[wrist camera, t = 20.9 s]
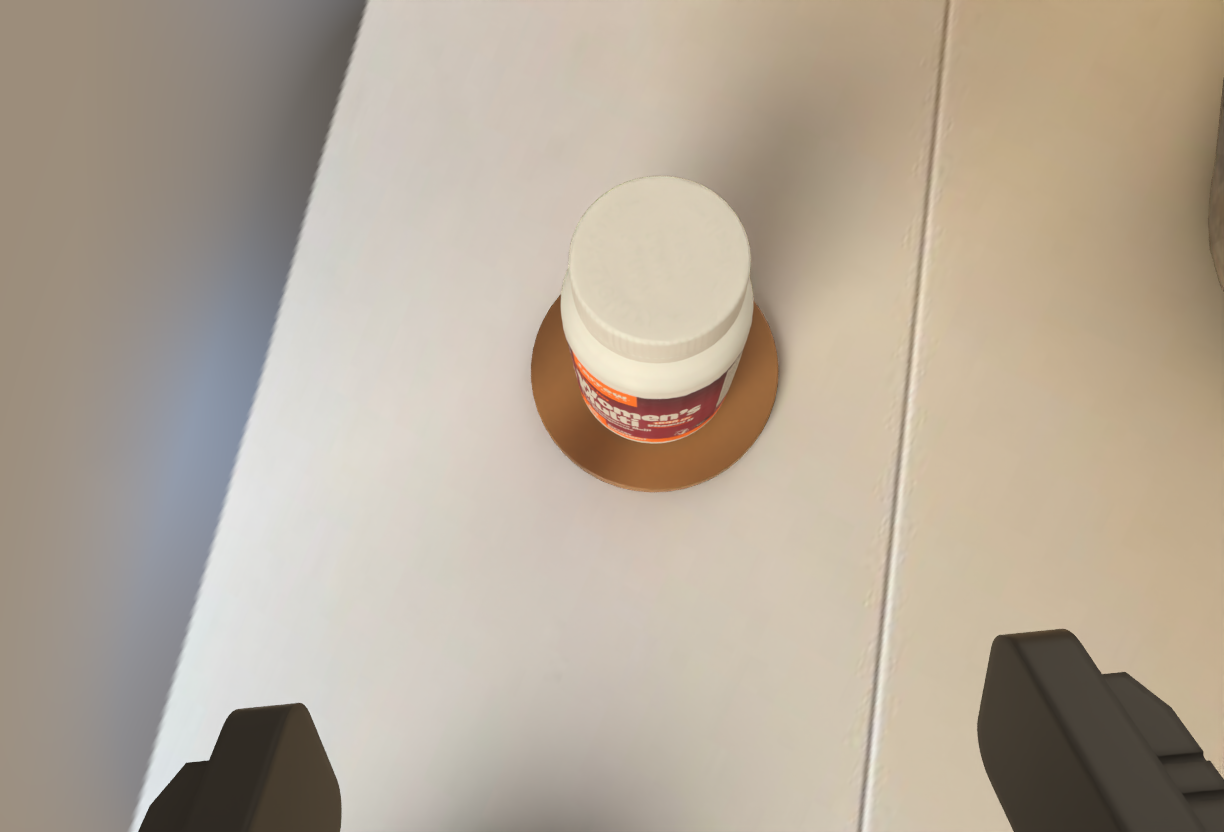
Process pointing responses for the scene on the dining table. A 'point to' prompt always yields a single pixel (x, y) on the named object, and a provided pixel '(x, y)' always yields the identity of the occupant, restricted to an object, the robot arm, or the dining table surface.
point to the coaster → (658, 461)
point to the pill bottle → (657, 306)
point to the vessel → (1218, 202)
